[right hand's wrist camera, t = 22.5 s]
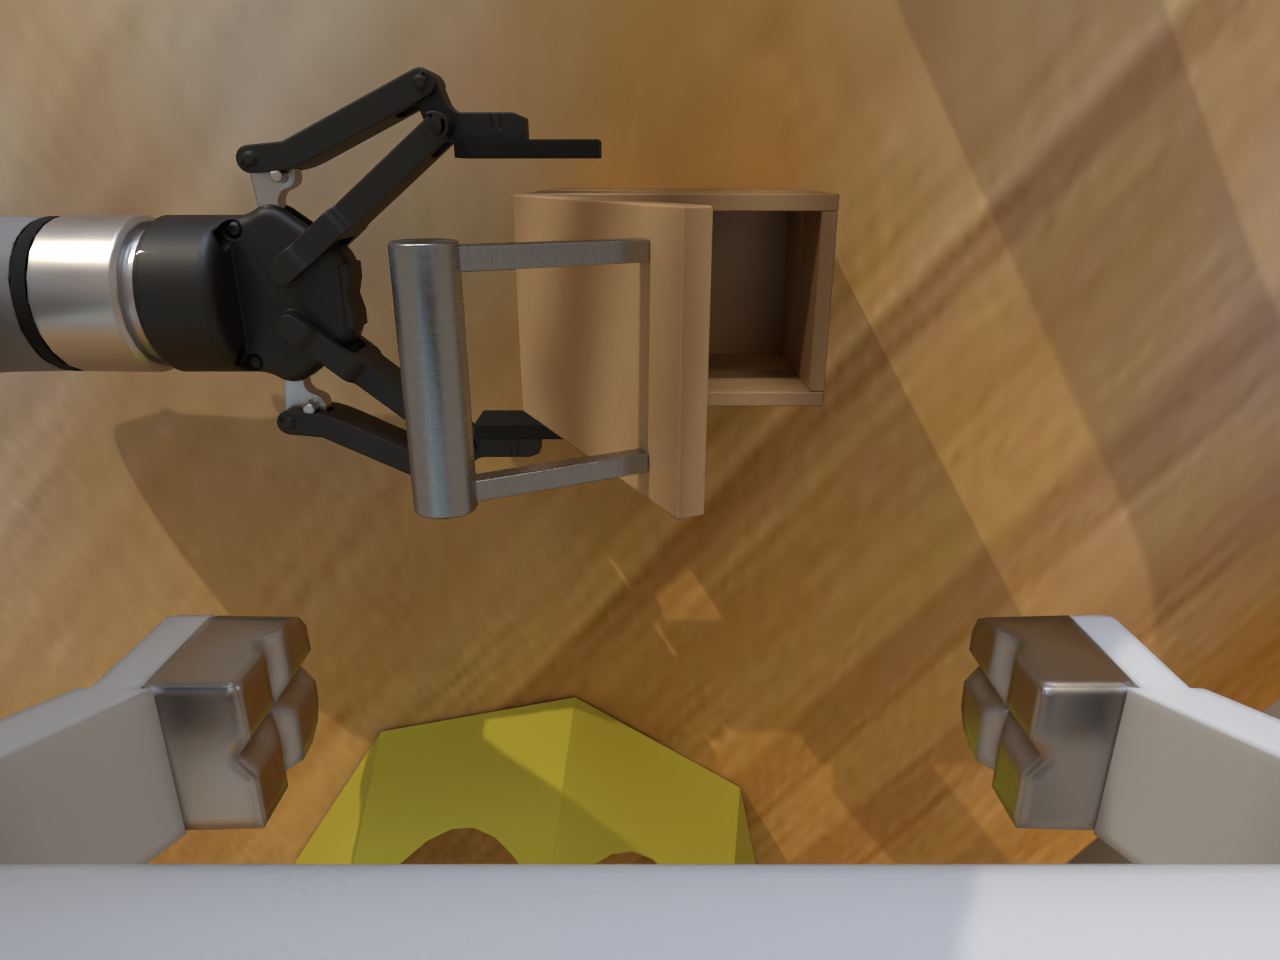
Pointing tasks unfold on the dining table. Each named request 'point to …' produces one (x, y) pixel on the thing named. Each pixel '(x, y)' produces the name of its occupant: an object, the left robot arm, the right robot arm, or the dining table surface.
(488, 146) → the left robot arm
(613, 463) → the lid
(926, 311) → the dining table surface
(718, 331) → the chest
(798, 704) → the dining table surface
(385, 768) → the crown
